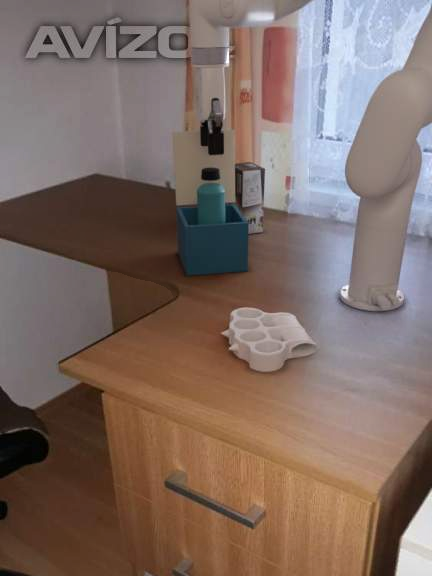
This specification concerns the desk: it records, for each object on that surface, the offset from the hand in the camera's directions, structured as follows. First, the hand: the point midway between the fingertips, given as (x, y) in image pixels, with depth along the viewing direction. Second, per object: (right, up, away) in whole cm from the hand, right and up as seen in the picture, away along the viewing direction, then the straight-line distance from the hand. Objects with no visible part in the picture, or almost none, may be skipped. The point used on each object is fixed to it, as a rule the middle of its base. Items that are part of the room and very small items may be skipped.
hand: (212, 150), depth 128 cm
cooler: (0, -21, +13) cm, 25 cm away
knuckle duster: (+9, -43, -21) cm, 49 cm away
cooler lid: (-2, 0, +10) cm, 10 cm away
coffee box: (+9, -8, +34) cm, 36 cm away
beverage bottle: (0, -20, +13) cm, 24 cm away
